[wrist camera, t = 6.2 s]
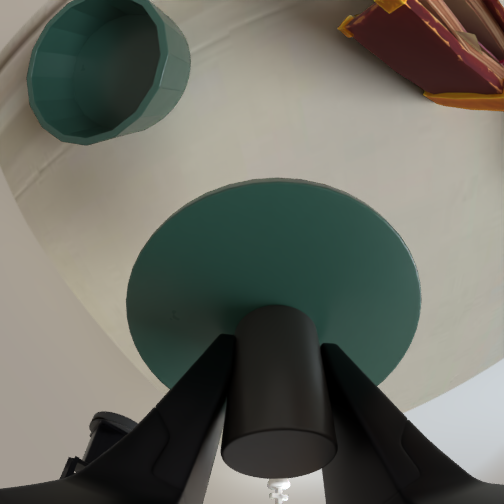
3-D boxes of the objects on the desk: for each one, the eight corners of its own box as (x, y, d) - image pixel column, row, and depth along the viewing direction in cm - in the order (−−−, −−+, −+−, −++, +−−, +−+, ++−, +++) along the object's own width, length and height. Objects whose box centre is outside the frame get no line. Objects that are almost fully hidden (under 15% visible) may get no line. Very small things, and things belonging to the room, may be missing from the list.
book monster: (318, 22, 15) (422, -53, 11) (416, 129, 18) (499, 40, 14) (389, -56, 5) (506, -107, 2) (538, 157, 8) (603, 35, 4)
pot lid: (100, 327, 11) (40, 435, 6) (242, 104, 7) (211, 95, 3) (289, 425, 13) (294, 527, 8) (453, 287, 10) (531, 390, 5)
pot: (54, 98, 17) (7, 102, 13) (117, -6, 14) (81, -28, 10) (141, 157, 19) (107, 174, 15) (218, 47, 16) (203, 28, 12)
